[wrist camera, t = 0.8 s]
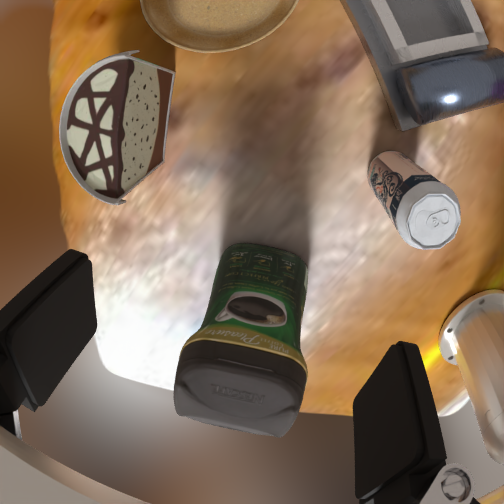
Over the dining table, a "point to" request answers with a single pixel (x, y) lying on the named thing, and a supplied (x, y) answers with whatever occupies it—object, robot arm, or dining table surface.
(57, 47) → the dining table surface
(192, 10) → the plant saucer
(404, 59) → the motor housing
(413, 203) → the beer can
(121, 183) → the food container
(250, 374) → the coffee jar
